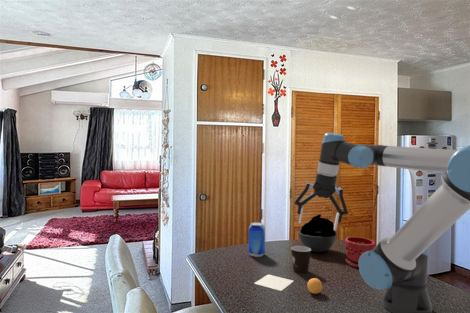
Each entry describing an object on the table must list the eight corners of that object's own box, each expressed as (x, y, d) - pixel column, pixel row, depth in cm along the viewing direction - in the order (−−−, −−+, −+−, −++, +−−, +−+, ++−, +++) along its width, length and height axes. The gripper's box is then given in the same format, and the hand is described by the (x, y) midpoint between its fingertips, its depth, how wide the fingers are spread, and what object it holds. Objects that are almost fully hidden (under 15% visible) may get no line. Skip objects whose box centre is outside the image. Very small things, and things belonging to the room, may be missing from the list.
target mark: (294, 281, 135) (294, 280, 135) (281, 291, 125) (281, 290, 125) (268, 274, 141) (268, 274, 141) (253, 283, 131) (253, 283, 131)
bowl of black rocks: (322, 259, 163) (323, 221, 162) (290, 250, 177) (291, 215, 177) (343, 251, 176) (344, 216, 176) (312, 243, 191) (312, 211, 191)
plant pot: (346, 268, 151) (346, 242, 151) (343, 259, 164) (344, 235, 164) (376, 271, 148) (377, 244, 148) (371, 261, 161) (372, 237, 160)
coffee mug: (310, 275, 141) (311, 252, 141) (290, 273, 143) (290, 250, 143) (310, 266, 153) (310, 244, 153) (291, 264, 154) (291, 243, 154)
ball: (324, 292, 124) (324, 278, 124) (319, 297, 120) (319, 282, 120) (310, 288, 127) (310, 274, 127) (305, 293, 123) (305, 279, 123)
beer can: (246, 256, 166) (247, 224, 166) (250, 251, 174) (251, 221, 174) (262, 258, 164) (263, 226, 163) (266, 253, 172) (266, 222, 171)
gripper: (359, 177, 126) (348, 229, 130) (294, 166, 131) (286, 216, 135) (362, 182, 119) (351, 236, 123) (293, 169, 124) (284, 222, 128)
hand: (317, 225), depth 129 cm, fingers open, 13 cm apart
